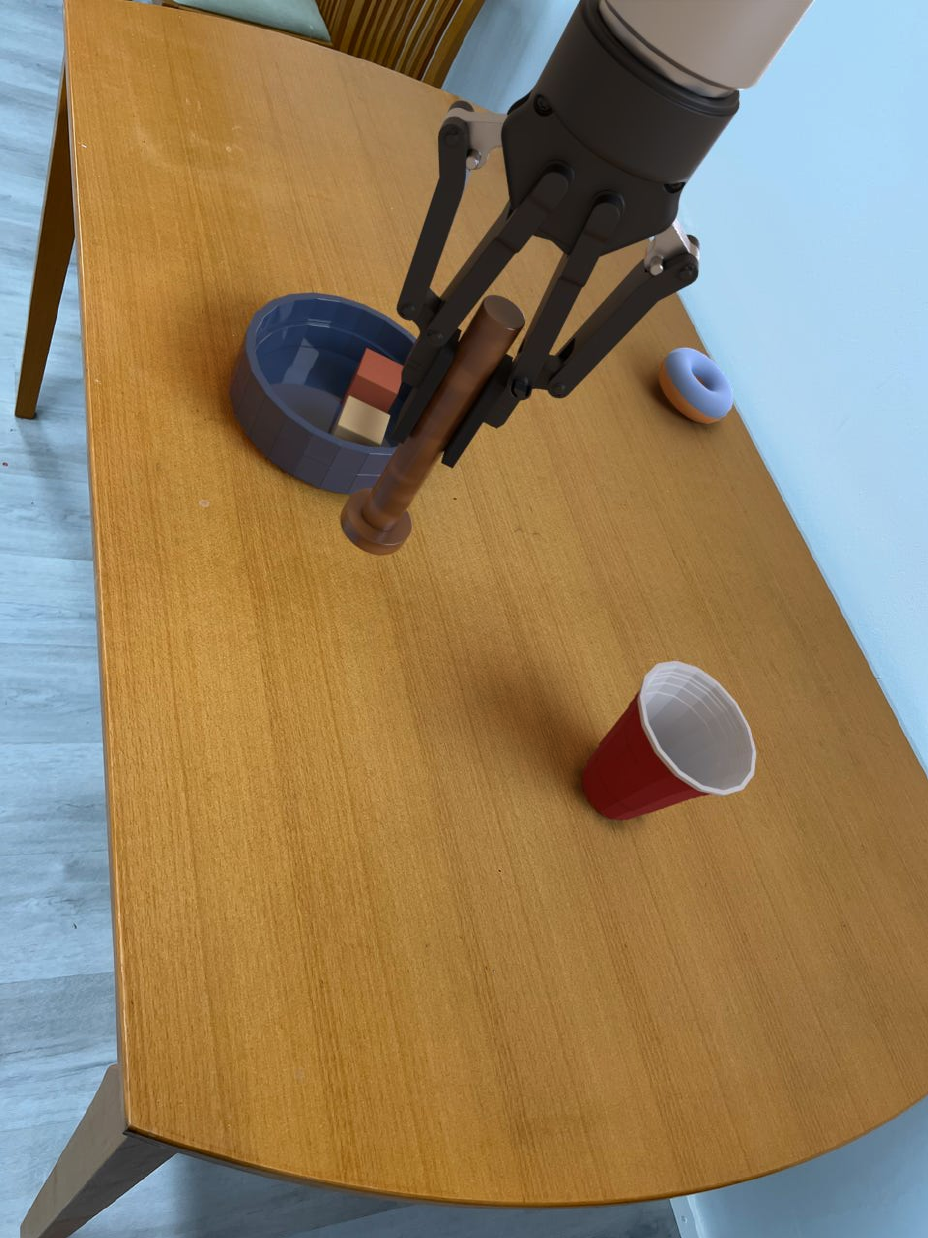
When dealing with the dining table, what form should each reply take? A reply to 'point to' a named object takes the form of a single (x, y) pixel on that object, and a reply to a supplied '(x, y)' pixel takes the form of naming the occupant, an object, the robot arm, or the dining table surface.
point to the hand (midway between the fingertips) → (427, 437)
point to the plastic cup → (670, 746)
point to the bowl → (314, 386)
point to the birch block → (360, 423)
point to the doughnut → (695, 385)
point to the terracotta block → (375, 381)
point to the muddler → (432, 430)
